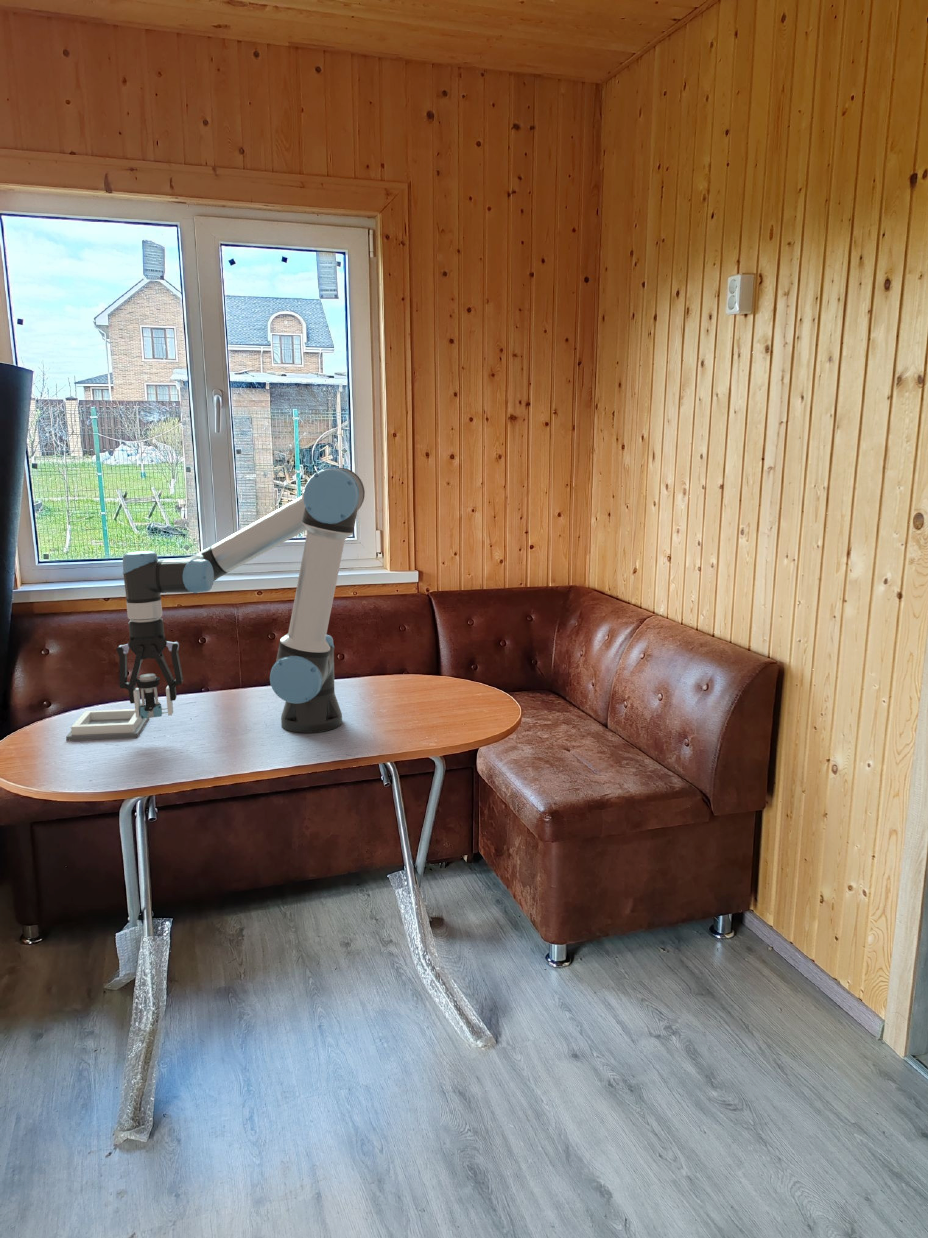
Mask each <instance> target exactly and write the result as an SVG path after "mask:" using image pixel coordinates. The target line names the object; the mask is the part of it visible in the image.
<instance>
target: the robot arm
mask: <svg viewBox="0 0 928 1238" xmlns="http://www.w3.org/2000/svg"><path fill="white" fill-rule="evenodd" d="M365 494H366V490H365V486H364V484H363V481H362V479H361V478H360V476H358V474H357V473H355V472H354V471H353V470H350V469H348V468H344V467H326V468H322V469H320V470H319V471H316V472H315V473H314V474H313V475H311V477H310V478H309V480H307V483H306V484H305V486H304V489H303V490H302V494H301V496H299V497H297V498H296V499H294V500H292V501H291V502H288V503H287V504H285V505H283V506H281V507H279V508H277V509H276V510H273V511H272V512H271V513H270V512H269V514H267V515H265V516H263V517H262V518H260V519H258V520H256V521H253V522H252V523H250V524H249V525H247V526H245V527H243V528H242V529H240V530H238V531H236V532H234V533H232V534H231V535H228V536H227V537H225V538H224V539H221V540H220V541H218V542H216V543H214V544H212V545H211V546H209V547H207V548H205V549H203V550H201V551H200V552H198V553H195V554H194V555H190V556H189V557H186V558H183V559H170V560H169V559H168V560H164V559H159V558H158V554H157V553H156V551H152V550H151V551H150V550H149V551H147V550H145V551H143V550H142V551H141V550H140V551H131V552H127V553H125V554H124V555H123V556H122V575H123V582H124V592H125V600H126V613H127V619H129V622H128V633H129V641H128V643H126V644H119V645H118V646H117V647H116V652H117V654H118V658H119V659H118V660H119V662H118V663H119V669H118V670H119V673H118V675H119V677H118V679H119V688H120V689H126V690H127V692H128V697H129V698H128V699H129V702H130V704H134V709H135V713H136V718H140V716H141V715H140V706H141V703H142V701H141V691H140V688H138V687H137V683H136V680H137V679H139V676H140V675H139V674H140V669H141V666H142V663H143V660H147V659H151V660H153V659H154V660H155V662H156V663H157V665H158V666H159V669H160V671H161V672H162V675H163V677H164V679H165V681H166V683H167V686H166V688H165V695H166V697H165V698H166V707H167V708H168V709H167V712H168V713H167V715H168V716H172V715H173V714H174V706H173V705H174V704H173V701H176V699H177V690H176V689H177V688H176V687H177V686H180V685H182V683H183V682H184V676H183V672H182V671H183V670H182V665H181V660H180V656H179V648H180V643H179V641H174V642H173V641H169V640H167V638H166V636H165V628H164V620H163V618H161V617H162V616H163V614H164V613H163V607H162V606H163V605H162V596H161V595H162V594H166V593H167V594H169V593H173V594H174V593H176V594H177V593H178V594H179V593H184V594H185V593H193V594H198V593H207V592H209V591H211V589H212V587H213V585H214V582H215V581H216V580H218V579H219V578H221V577H223V576H225V575H227V574H229V572H231V571H234V570H235V569H237V568H239V567H241V566H243V565H245V564H246V563H248V562H250V561H252V560H253V559H256V558H257V557H260V556H261V555H263V554H265V553H267V552H268V551H269V552H270V551H271V550H272V549H274V548H276V547H278V546H279V545H282V544H283V543H285V542H287V541H289V540H290V539H292V538H295V537H297V536H298V535H300V534H302V533H304V532H305V531H306V536H305V540H304V541H305V542H304V547H303V552H302V558H301V563H300V568H299V574H298V579H297V586H296V589H295V596H294V600H293V606H292V610H291V617H290V622H289V626H288V633H286V634H285V635H284V636H282V637H281V638H280V639H279V645H278V648H277V649H278V650H277V653H276V659H275V660H276V661H275V663H273V665H272V667H271V669H270V674H269V682H270V683H269V684H270V687H271V689H272V690H273V692H274V694H275V695H276V696H277V697H278V698H280V699H281V700H282V701H283V702H285V703H284V706H283V709H282V712H281V716H280V717H281V718H280V726H281V728H283V729H284V730H286V731H289V732H294V733H301V734H304V733H306V734H309V733H311V734H312V733H313V734H314V733H324V732H326V731H327V732H328V731H331V730H334V729H337V728H339V727H340V726H341V725H342V724H343V713H342V710H341V707H340V705H339V702H338V699H337V696H336V694H335V693H336V692H335V655H334V654H335V653H334V652H335V645H334V639H333V637H332V636H331V635H330V634H328V628H329V623H330V617H331V613H332V606H333V602H334V599H335V597H334V596H335V592H336V587H337V583H338V582H337V581H338V576H339V572H340V566H341V562H342V561H341V560H342V557H343V556H342V555H343V553H344V552H343V551H344V546H345V541H346V539H348V538H349V537H350V536H352V535H353V534H354V530H355V524H356V520H357V516H358V515H357V514H358V511H359V509H361V507H362V505H363V504H364V502H365V501H364V500H365ZM166 647H167V648H168V649H167V650H168V651H169V652H171V661H172V667H173V672H174V676H173V674H172V672H171V669H170V667H169V666H168V663H167V661H166V658H165V656H164V653H163V651H164V650H165V648H166ZM129 649H130V650H131V651H132V652H133V653H134V655H136V656H135V658H134V664H133V666H132V667H133V668H132V670H131V675H130V679H129V682H128V654H129V652H130V651H129ZM174 677H175V678H174Z"/></svg>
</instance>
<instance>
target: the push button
mask: <svg viewBox="0 0 928 1238" xmlns="http://www.w3.org/2000/svg"><path fill="white" fill-rule="evenodd" d="M160 681H161V678H160V677H158V676H156V673H144V674H140V675H138V678H137V680H136V688H139V689H140V699H141V706H140V715H141V718H142V719H144V718H150V719H151V718H152V719H153V718H159V717H162V716H163V714H168V711H165V710H168V708H166V707H165V708H164V707H163V708H162V703H161V702H160V701H159V697H158V696H159V695H158V686H159V685H160Z"/></svg>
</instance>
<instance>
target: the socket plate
mask: <svg viewBox="0 0 928 1238" xmlns="http://www.w3.org/2000/svg"><path fill="white" fill-rule="evenodd" d="M150 719H151V718H144V719H142V718H141V716H140V718H136V713H135V708H130V709H129V708H127V709H104V710H103V709H101V710H100V709H99V710H97V709H96V710H85V711H84V712H83V713H82V714H81V716H79V717H78V718H77V719H76V721H75V722H74V723H73V724H72V725H71V726H70V732H69V733H68V734H67V735H66V736H65V738H66V741H67V742H68V741H70V742H71V741H86V740H87V741H89V740H110V739H111V740H112V739H131V738H132V739H133V738H135V739H137V738H139V736H140V734H141V733H142V731H143V730H144V728H145V727H146V725H147V723H148V722H149V720H150Z"/></svg>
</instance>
